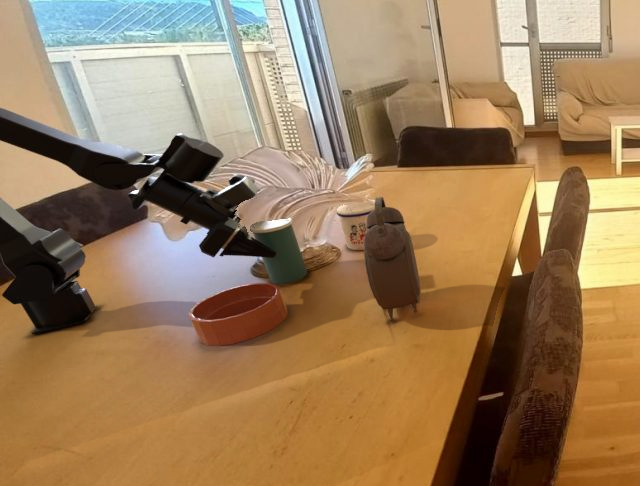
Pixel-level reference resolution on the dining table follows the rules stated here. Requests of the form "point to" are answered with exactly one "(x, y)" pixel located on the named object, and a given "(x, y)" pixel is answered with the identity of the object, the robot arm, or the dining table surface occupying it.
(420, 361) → the dining table surface
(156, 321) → the dining table surface
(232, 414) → the dining table surface
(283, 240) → the green canister
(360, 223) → the teacup with lid
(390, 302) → the alarm clock
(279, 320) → the bowl
